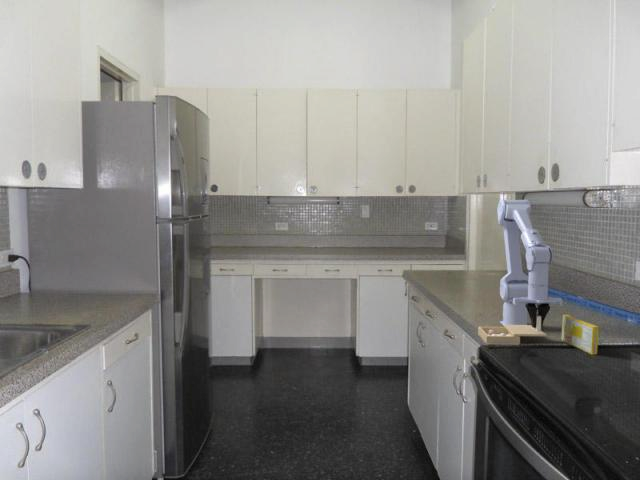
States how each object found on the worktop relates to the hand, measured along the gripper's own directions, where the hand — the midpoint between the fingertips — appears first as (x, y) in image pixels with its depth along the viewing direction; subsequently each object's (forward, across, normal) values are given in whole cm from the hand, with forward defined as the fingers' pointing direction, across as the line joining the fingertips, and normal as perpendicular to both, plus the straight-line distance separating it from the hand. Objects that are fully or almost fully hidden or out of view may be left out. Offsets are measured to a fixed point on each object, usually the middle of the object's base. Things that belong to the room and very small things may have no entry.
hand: (536, 327), depth 172 cm
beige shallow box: (+4, -12, 0) cm, 12 cm away
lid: (+1, -4, 0) cm, 4 cm away
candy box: (+4, +10, -7) cm, 13 cm away
